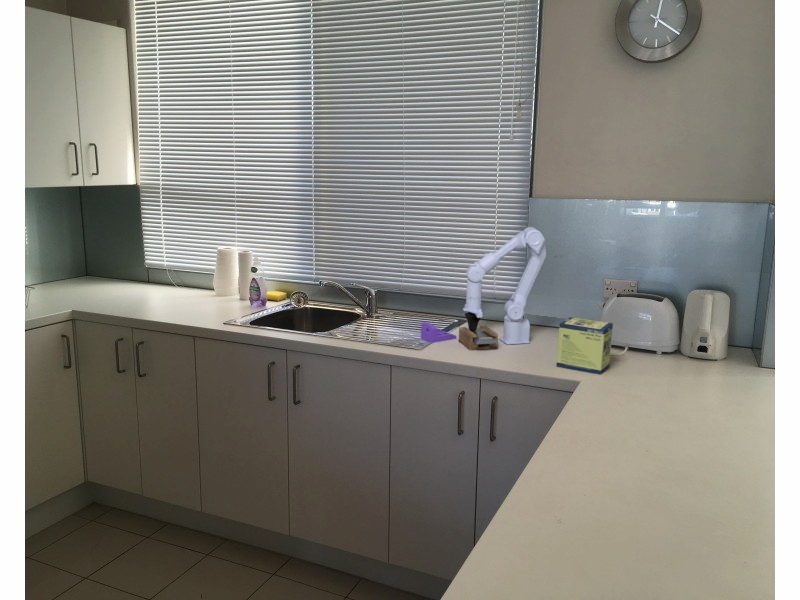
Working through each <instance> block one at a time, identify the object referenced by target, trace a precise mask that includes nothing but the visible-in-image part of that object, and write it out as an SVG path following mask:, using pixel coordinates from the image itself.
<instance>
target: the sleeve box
mask: <svg viewBox="0 0 800 600" xmlns="http://www.w3.org/2000/svg"><path fill="white" fill-rule="evenodd" d="M479 329H481V331H485V332H486V333H487V334H489V335H490V336H493V337H494V338H496V339H497V343H492V344H475V343H474V342H473V337H476V334H474V333H473V332H471V331H470V330H469V328H468V327H466V326H462V327H461V326H460V327H459V328H458V342H459V343H460V344H461V345H463V346H464V347H465V349H467V350H468V351H480V350H481V351H482V350H497V349H498V342H499V341H498V340H499V333H497V332H496V331H494V330H492V329H491V328H490V327H488V326H487V325H480V326H479Z"/></svg>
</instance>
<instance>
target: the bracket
mask: <svg viewBox="0 0 800 600" xmlns="http://www.w3.org/2000/svg"><path fill="white" fill-rule="evenodd" d="M420 325H421V326H420V339H421V340H423V341H425V342H427V341H428V342H427V343H430V342H431V343H430V344H434V343H440V342H445V341H446V342H447V341H451V340H456V339H457V335H455V334H452V333H450V332H447V331H445V330H442V329H439V328H436V327H437V326H436V325H435V324H434V323H433V324H432V323H429V322H428V321H421V324H420Z"/></svg>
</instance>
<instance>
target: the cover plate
mask: <svg viewBox="0 0 800 600" xmlns="http://www.w3.org/2000/svg"><path fill="white" fill-rule="evenodd" d="M473 333H474V334H476V337H473V342H474V343H475V344H492V343H497V339H496V338H494V337H493V336H490V335H489V334H487V333H486V332H485V331H483V330H481V331H476V332H473Z"/></svg>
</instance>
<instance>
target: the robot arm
mask: <svg viewBox="0 0 800 600" xmlns="http://www.w3.org/2000/svg"><path fill="white" fill-rule="evenodd" d="M527 246H528V248H529V251H530V254H531V256H530V258H529V260H528V263H527V264H526V267H525V269H524V272H523V273H522V276H521V278H520V281H519V282H518V285H517V287H516V289H515V290H514V293H512V294H511V296H510V298H509V300H508V301H507V300H506V302H505V304H504V311H505V313H506V315H504V318H503V334H502V337H498V340H500V341H502V342H503V343H505V344H506V345H519V344H520V345H521V344H530V343H531V342H530V332H531V331H530V330H531V325H530V321H529V320H528V318H524V316H525V307H526V305H527V299H528V296H529V294H530V292H531V290H532V288H533V285H534V284H535V280H537V277H538V274H539V272H540V271H541V268H542V266H543V264H544V261H545V259H546V257H547V250H546V249H547V248H546V238H545V237H544V235H543V233H541V231H540V230H537V228H536V227H532V226H529V227H526V228H524V229H523V230H522V231H520V232H518V233H517V234H516V235H515V236H513V237H512V238H510V240H509V241H507V242H506V243H505V244H503V245H502V246H501V247H500V248H499V249H498V250H496V251H495V252H491V251H490V252H488V253H487V252H486V253H484V254H483V256H482V257H481V258H480V259H479V260H478V261H475V262H473V264H472V265H470V266H468V268H467V270H466V272H465V273H466V276H467V281H466V295H465V296H466V298H465V304H464V307H463V308H462V311H464V316H465V318H466V321H467V325H468V327H467V328H468V329H469V330H470V331H471V332H477V329H478V325H479V323H480V320H481V319H482V318H483V315H484V314H483V310H482V290H483V285H482V280H483V278H484V275H487V274H488V273H490V272H491V271H493V270H494V269H495V268H496V267H498V266H499V265H500V261H501V260H502V259H503V258H504V257H506V256H507V255H508V254H509V255H510V253H511V252H512V251H514V250H516V249H517V248H526V247H527Z"/></svg>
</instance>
